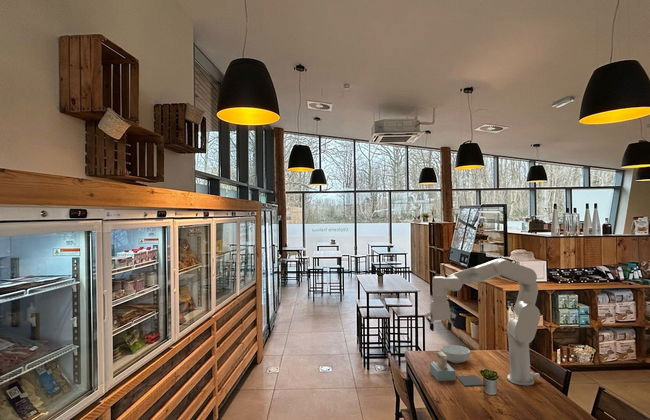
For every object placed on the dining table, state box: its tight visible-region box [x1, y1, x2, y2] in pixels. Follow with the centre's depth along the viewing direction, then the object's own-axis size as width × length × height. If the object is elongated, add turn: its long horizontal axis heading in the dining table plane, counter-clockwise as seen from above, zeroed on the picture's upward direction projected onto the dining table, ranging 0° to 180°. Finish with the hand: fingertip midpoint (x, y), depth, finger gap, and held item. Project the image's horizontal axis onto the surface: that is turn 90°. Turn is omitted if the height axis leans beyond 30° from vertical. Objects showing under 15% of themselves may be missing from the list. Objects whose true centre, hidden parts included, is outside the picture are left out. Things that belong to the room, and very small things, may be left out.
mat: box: [455, 374, 484, 387], centre depth 186 cm, size 11×11×1 cm
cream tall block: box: [436, 351, 448, 370], centre depth 194 cm, size 3×6×12 cm, turn 3°
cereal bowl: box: [440, 344, 471, 364], centre depth 214 cm, size 17×17×7 cm
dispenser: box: [429, 361, 456, 382], centre depth 194 cm, size 9×12×6 cm
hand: (440, 330), depth 194 cm, fingers open, 9 cm apart
